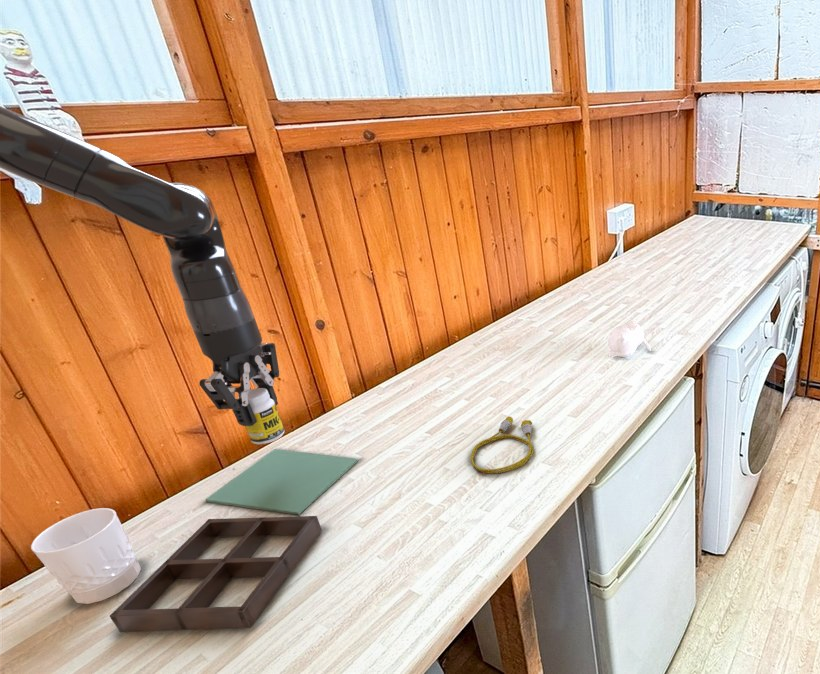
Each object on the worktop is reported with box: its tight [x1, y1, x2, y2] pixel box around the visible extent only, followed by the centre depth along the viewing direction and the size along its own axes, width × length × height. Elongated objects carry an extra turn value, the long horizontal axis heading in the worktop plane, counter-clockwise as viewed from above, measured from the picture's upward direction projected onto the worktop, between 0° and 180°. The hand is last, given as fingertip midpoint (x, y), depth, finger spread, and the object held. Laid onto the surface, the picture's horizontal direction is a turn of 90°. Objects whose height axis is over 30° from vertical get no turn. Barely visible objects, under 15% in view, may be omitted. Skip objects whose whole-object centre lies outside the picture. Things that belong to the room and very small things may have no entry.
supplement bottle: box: [237, 387, 285, 445], centre depth 86 cm, size 5×5×8 cm
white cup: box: [30, 507, 142, 605], centre depth 70 cm, size 8×8×10 cm
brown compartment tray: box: [109, 515, 323, 633], centre depth 72 cm, size 16×16×3 cm
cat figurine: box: [607, 320, 652, 358], centre depth 134 cm, size 9×11×12 cm
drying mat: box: [205, 448, 359, 516], centre depth 91 cm, size 18×14×1 cm
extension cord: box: [470, 415, 534, 474], centre depth 98 cm, size 12×16×2 cm
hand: (260, 414), depth 86 cm, fingers closed on supplement bottle, 4 cm apart
